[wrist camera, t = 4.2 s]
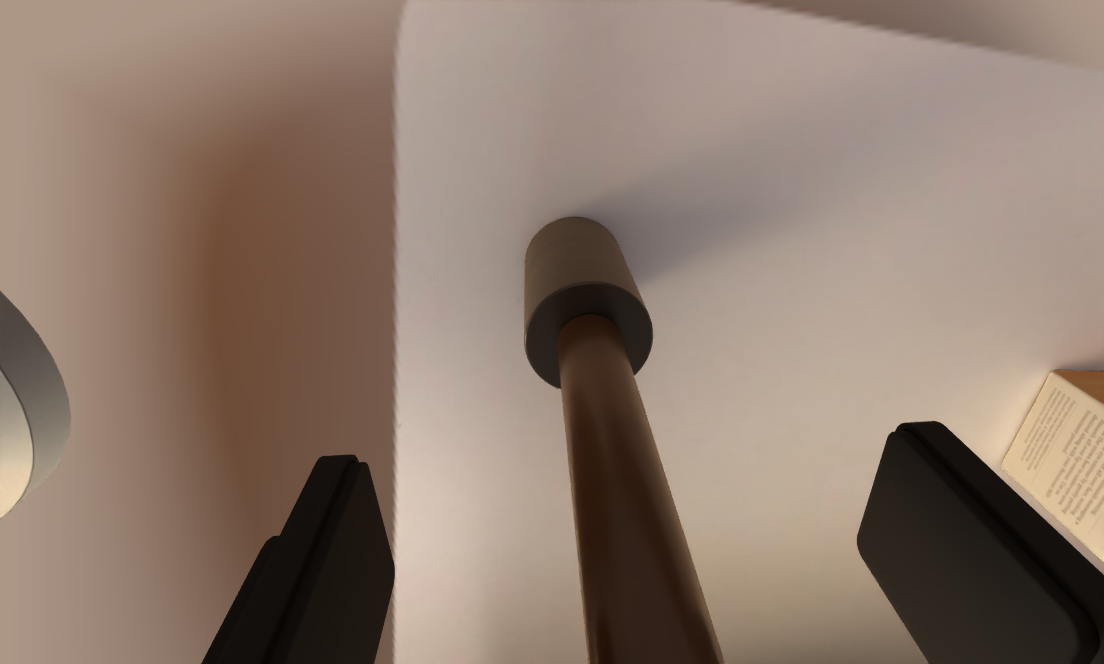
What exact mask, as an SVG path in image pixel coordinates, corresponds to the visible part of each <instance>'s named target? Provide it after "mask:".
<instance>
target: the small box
mask: <svg viewBox="0 0 1104 664" xmlns="http://www.w3.org/2000/svg"><path fill="white" fill-rule="evenodd" d="M1001 466H1002V468H1003V469H1004V470H1005V471H1006V472H1007V473H1008V474H1009V475H1010V476H1011V477H1012V478H1013V479H1014V480H1016V481H1017V482H1018V483H1019V484H1020V485H1021V486H1022V487H1023V488H1024V489H1025V490H1026V491H1027V492H1029V493H1030V494H1031V495H1032V496H1033V497H1034V498H1035V499H1036V500H1037V501H1038V502H1039V503H1040V504H1041V505H1042V506H1043V507H1045V508H1046V509H1047V510H1048V511H1049V512H1050V513H1051V514H1052V515H1053V516H1054V517H1055V518H1056V519H1058V520H1059V521H1060V522H1061V523H1062V524H1063V525H1064V526H1065V527H1066V528H1067V529H1068V530H1069V531H1070V532H1071V533H1072V534H1074V535H1075V536H1076V537H1077V538H1078V539H1079V540H1080V541H1081V542H1082V543H1083V544H1084V545H1085V546H1087V547H1088V548H1089V549H1090V550H1091V551H1092V552H1093V553H1094V554H1095V555H1096V556H1097V557H1098V558H1099V559H1101V560H1102V561H1103V562H1104V371H1072V370H1053V371H1051V372H1050V374H1049V376H1048V378H1047V380H1046V382H1045V384H1044V386H1043V387H1042V389H1041V391H1040V393H1039V395H1038V397H1037V399H1036V401H1035V403H1034V405H1033V407H1032V409H1031V410H1030V412H1029V414H1028V416H1027V418H1026V420H1025V421H1024V423H1023V425H1022V427H1021V429H1020V431H1019V432H1018V434H1017V436H1016V438H1015V440H1014V442H1013V444H1012V445H1011V447H1010V449H1009V451H1008V453H1007V455H1006V457H1005V458H1004V460H1003V462H1002V465H1001Z"/></svg>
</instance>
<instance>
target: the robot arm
mask: <svg viewBox="0 0 1104 664" xmlns="http://www.w3.org/2000/svg"><path fill="white" fill-rule="evenodd" d="M857 546H858V550H859V553H860V555H861V557H862V559H863V560H864V562H865V564H866V565H867V567H868V568H869V570H870V571H871V573H872V575H873V576H874V578H875V579H876V581H877V582H878V584H879V586H880V587H881V589H882V590H883V592H884V593H885V595H886V597H887V598H888V600H889V601H890V603H891V605H892V606H893V608H894V609H895V611H896V612H897V614H898V616H899V617H900V619H901V620H902V622H903V623H904V625H905V627H906V628H907V630H908V631H909V633H910V634H911V636H912V638H913V639H914V641H915V642H916V644H917V645H918V647H919V649H920V650H921V652H922V653H923V655H924V656H925V658H926V660H927V661H928V663H929V664H1104V575H1103V574H1102V573H1101V572H1100V571H1099V570H1098V569H1097V568H1096V567H1095V566H1094V565H1093V564H1091V563H1090V562H1089V561H1088V560H1087V559H1086V558H1085V557H1084V556H1083V555H1082V554H1081V553H1080V552H1079V551H1078V550H1077V549H1075V548H1074V547H1073V546H1072V545H1071V544H1070V543H1069V542H1068V541H1067V540H1066V539H1065V538H1064V537H1063V536H1062V535H1061V534H1060V533H1058V532H1057V531H1056V530H1055V529H1054V528H1053V527H1052V526H1051V525H1050V524H1049V523H1048V522H1047V521H1046V520H1045V519H1044V518H1043V517H1041V516H1040V515H1039V514H1038V513H1037V512H1036V511H1035V510H1034V509H1033V508H1032V507H1031V506H1030V505H1029V504H1028V503H1027V502H1026V501H1024V500H1023V499H1022V498H1021V497H1020V496H1019V495H1018V494H1017V493H1016V492H1015V491H1014V490H1013V489H1012V488H1011V487H1010V486H1009V485H1007V484H1006V483H1005V482H1004V481H1003V480H1002V479H1001V478H1000V477H999V476H998V475H997V474H996V473H995V472H994V471H993V470H991V469H990V468H989V467H988V466H987V465H986V464H985V463H984V462H983V461H982V460H981V459H980V458H979V457H978V456H977V455H976V454H974V453H973V452H972V451H971V450H970V449H969V448H968V447H967V446H966V445H965V444H964V443H963V442H962V441H961V440H960V439H959V438H957V437H956V436H955V435H954V434H953V433H952V432H951V431H950V430H949V429H948V428H947V427H946V426H944V425H943V424H942V423H940V422H936V421H927V422H910V423H902V424H900V425H899V426H898V427H897V429H896V431H895V432H891V433H890V434H889V436H888V438H887V441H886V444H885V447H884V450H883V454H882V457H881V460H880V463H879V467H878V470H877V473H876V476H875V480H874V483H873V486H872V489H871V493H870V496H869V499H868V502H867V506H866V509H865V512H864V515H863V519H862V522H861V525H860V528H859V532H858V535H857ZM394 578H395V567H394V561H393V558H392V554H391V550H390V546H389V542H388V538H387V535H386V531H385V527H384V523H383V519H382V516H381V512H380V508H379V504H378V500H377V496H376V493H375V489H374V485H373V481H372V477H371V474H370V470H369V467H368V464H367V463H366V462H359V461H358V459H357V457H356V456H355V455H334V456H322V457H320V458H319V459H318V461H317V462H316V464H315V466H314V468H313V470H312V472H311V474H310V476H309V478H308V480H307V482H306V484H305V486H304V488H303V490H302V492H301V494H300V496H299V498H298V500H297V502H296V504H295V506H294V508H293V510H292V512H291V514H290V516H289V518H288V520H287V522H286V524H285V526H284V528H283V530H282V532H281V534H280V536H273V537H271V538H270V539H269V540H267V541H266V543H265V544H264V546H263V547H262V549H261V550H260V552H259V554H258V556H257V558H256V560H255V562H254V564H253V566H252V568H251V569H250V572H249V573H248V575H247V577H246V579H245V581H244V583H243V585H242V587H241V589H240V591H239V592H238V595H237V596H236V598H235V600H234V602H233V604H232V606H231V608H230V610H229V612H228V614H227V615H226V617H225V619H224V621H223V623H222V625H221V627H220V629H219V631H218V633H217V635H216V636H215V638H214V640H213V642H212V644H211V646H210V648H209V650H208V652H207V654H206V656H205V658H204V659H203V661H202V663H201V664H374V662H375V658H376V654H377V650H378V646H379V642H380V638H381V633H382V630H383V626H384V622H385V618H386V614H387V610H388V605H389V601H390V597H391V593H392V589H393V585H394Z"/></svg>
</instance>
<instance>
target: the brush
mask: <svg viewBox="0 0 1104 664" xmlns="http://www.w3.org/2000/svg"><path fill="white" fill-rule="evenodd" d="M652 343H653V327H652V322H651V319H650V316H649V313H648V311H647V309H646V306H645V304H644V302H643V300H642V297H641V295H640V293H639V291H638V288H637V286H636V284H635V281H634V279H633V277H632V275H631V272H630V270H629V268H628V266H627V263H626V261H625V259H624V256H623V254H622V252H621V250H620V247H619V245H618V243H617V241H616V239H615V238H614V236H613V235H612V234H611V232H610V231H609V230H608V229H606V228H605V227H604V226H603V225H601V224H599V223H598V222H595V221H593V220H590V219H587V218H581V217H568V218H563V219H559V220H556V221H554V222H552V223H550V224H548V225H546V226H545V227H544V228H542V229H541V230H540V231H539V232H538V233H537V234H536V235H535V237H534V238H533V239H532V241H531V243H530V244H529V247H528V249H527V252H526V257H525V315H524V345H525V352H526V355H527V358H528V360H529V363H530V365H531V366H532V368H533V369H534V371H535V372H536V373H537V374H538V375H539V376H540V377H541V378H542V379H543V380H544V381H545V382H547V383H548V384H550V385H551V386H553V387H555V388H557V389H559V390H561V392H562V402H563V412H564V422H565V432H566V442H567V453H568V463H569V473H570V483H571V493H572V503H573V514H574V524H575V534H576V544H577V554H578V564H579V574H580V585H581V595H582V605H583V615H584V625H585V635H586V646H587V656H588V664H725V661H724V658H723V655H722V651H721V648H720V645H719V642H718V639H717V636H716V633H715V629H714V626H713V623H712V620H711V617H710V614H709V610H708V607H707V604H706V601H705V598H704V595H703V592H702V588H701V585H700V582H699V579H698V576H697V573H696V569H695V566H694V563H693V560H692V557H691V554H690V550H689V547H688V544H687V541H686V538H685V535H684V532H683V528H682V525H681V522H680V519H679V516H678V513H677V509H676V506H675V503H674V500H673V497H672V494H671V491H670V487H669V484H668V481H667V478H666V475H665V472H664V468H663V465H662V462H661V459H660V456H659V453H658V449H657V446H656V443H655V440H654V437H653V434H652V431H651V427H650V424H649V421H648V418H647V415H646V412H645V408H644V405H643V402H642V399H641V396H640V393H639V390H638V386H637V383H636V380H635V377H634V376H635V375H636V374H637V373H638V372H639V370H640V369H641V368H642V367H643V365H644V363H645V362H646V360H647V358H648V356H649V354H650V351H651V347H652Z"/></svg>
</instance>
